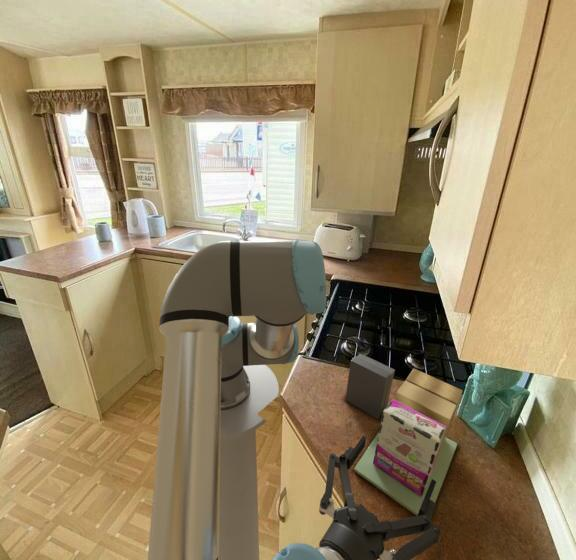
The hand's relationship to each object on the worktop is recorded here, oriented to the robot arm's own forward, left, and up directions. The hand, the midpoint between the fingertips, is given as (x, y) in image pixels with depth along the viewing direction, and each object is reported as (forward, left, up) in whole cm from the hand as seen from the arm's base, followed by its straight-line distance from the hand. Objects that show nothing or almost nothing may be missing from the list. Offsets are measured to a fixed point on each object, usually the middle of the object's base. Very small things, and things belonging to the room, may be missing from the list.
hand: (396, 461), depth 60 cm
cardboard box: (0, +16, -10) cm, 19 cm away
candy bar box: (0, +6, -10) cm, 12 cm away
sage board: (0, +11, -11) cm, 16 cm away
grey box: (-15, +20, -11) cm, 27 cm away
